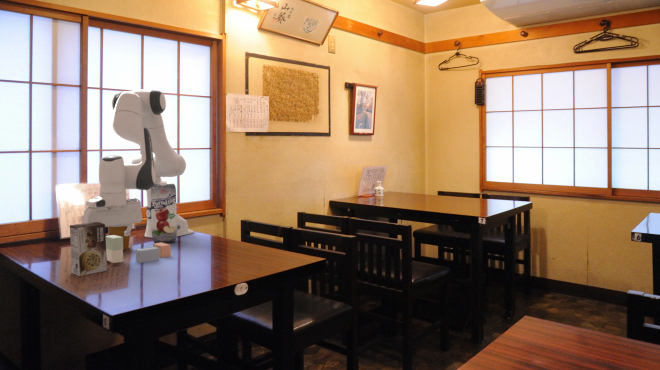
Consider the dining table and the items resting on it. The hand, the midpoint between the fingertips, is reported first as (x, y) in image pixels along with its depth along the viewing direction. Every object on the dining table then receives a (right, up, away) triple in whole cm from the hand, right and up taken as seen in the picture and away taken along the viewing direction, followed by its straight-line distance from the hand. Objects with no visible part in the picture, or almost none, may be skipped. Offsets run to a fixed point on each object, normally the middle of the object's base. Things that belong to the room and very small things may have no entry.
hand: (114, 237), depth 172 cm
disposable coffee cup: (-7, -7, +21) cm, 23 cm away
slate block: (+12, -9, 0) cm, 15 cm away
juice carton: (+6, -6, +36) cm, 37 cm away
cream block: (0, -9, 0) cm, 9 cm away
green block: (0, -4, 0) cm, 4 cm away
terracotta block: (+14, -8, +9) cm, 19 cm away
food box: (-1, -10, -16) cm, 19 cm away
